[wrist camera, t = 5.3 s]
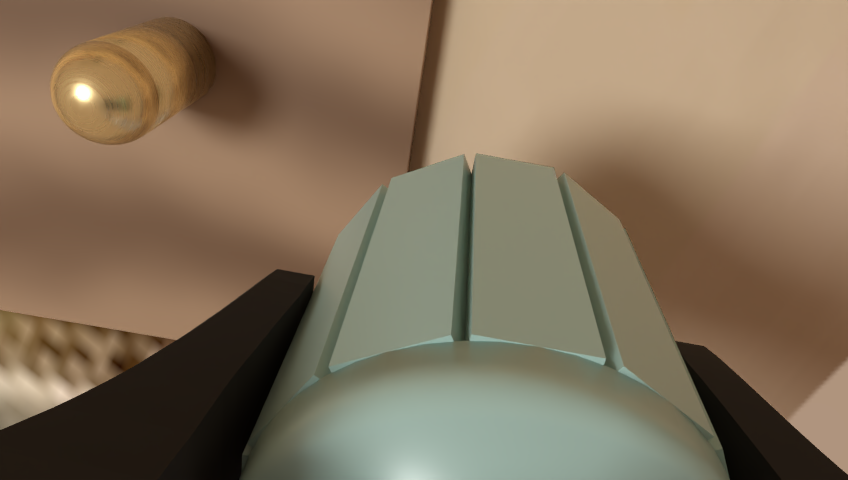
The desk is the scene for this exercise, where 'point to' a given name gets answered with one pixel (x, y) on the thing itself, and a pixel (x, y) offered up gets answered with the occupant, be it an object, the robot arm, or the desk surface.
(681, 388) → the cap
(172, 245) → the walnut board
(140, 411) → the robot arm
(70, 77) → the tan cylinder
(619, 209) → the desk surface
